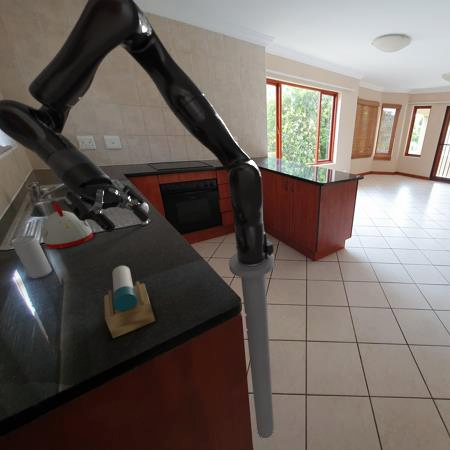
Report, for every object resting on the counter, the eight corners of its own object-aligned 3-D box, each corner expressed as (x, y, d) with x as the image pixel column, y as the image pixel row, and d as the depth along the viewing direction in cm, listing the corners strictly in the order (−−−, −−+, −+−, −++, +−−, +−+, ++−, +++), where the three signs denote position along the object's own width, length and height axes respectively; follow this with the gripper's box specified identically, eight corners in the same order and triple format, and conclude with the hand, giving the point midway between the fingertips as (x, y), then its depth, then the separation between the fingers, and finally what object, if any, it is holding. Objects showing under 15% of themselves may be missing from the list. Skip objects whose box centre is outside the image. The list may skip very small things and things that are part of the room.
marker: (114, 281, 61) (109, 268, 59) (132, 275, 63) (128, 262, 61) (116, 314, 50) (110, 298, 48) (139, 306, 52) (134, 291, 50)
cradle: (149, 300, 62) (143, 279, 59) (155, 321, 55) (148, 299, 53) (111, 313, 57) (102, 292, 55) (113, 338, 51) (103, 315, 48)
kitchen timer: (49, 252, 83) (31, 212, 77) (42, 241, 91) (24, 204, 85) (98, 238, 94) (85, 202, 88) (87, 229, 101) (75, 195, 95)
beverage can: (53, 268, 74) (37, 233, 70) (51, 275, 71) (33, 239, 66) (32, 273, 72) (13, 238, 67) (28, 281, 68) (8, 244, 64)
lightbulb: (141, 228, 103) (134, 204, 98) (133, 225, 105) (126, 202, 101) (155, 223, 108) (150, 200, 103) (147, 221, 110) (141, 198, 106)
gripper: (46, 162, 46) (105, 221, 47) (116, 161, 59) (162, 207, 60) (36, 189, 49) (92, 244, 49) (105, 182, 62) (149, 226, 63)
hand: (130, 224), depth 55 cm, fingers open, 8 cm apart
